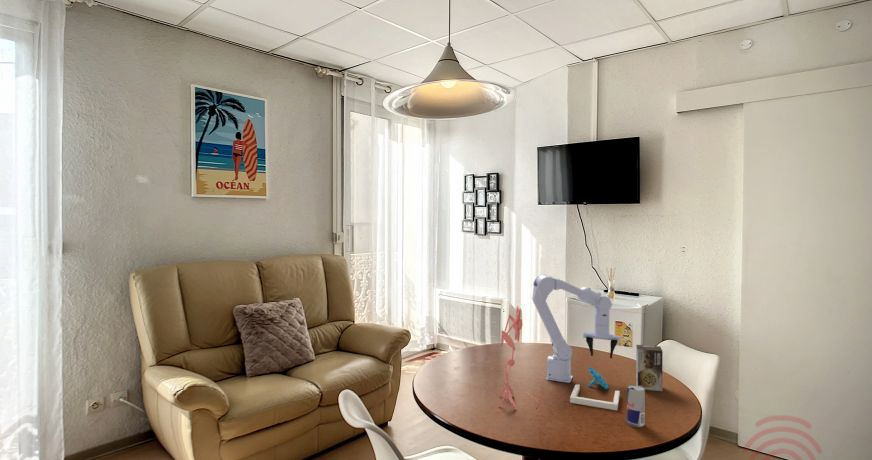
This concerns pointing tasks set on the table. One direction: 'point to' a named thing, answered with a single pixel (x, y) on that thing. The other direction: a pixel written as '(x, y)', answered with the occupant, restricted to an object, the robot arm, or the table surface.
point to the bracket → (593, 402)
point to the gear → (597, 379)
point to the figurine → (517, 326)
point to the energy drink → (635, 406)
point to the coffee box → (649, 367)
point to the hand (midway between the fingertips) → (601, 356)
